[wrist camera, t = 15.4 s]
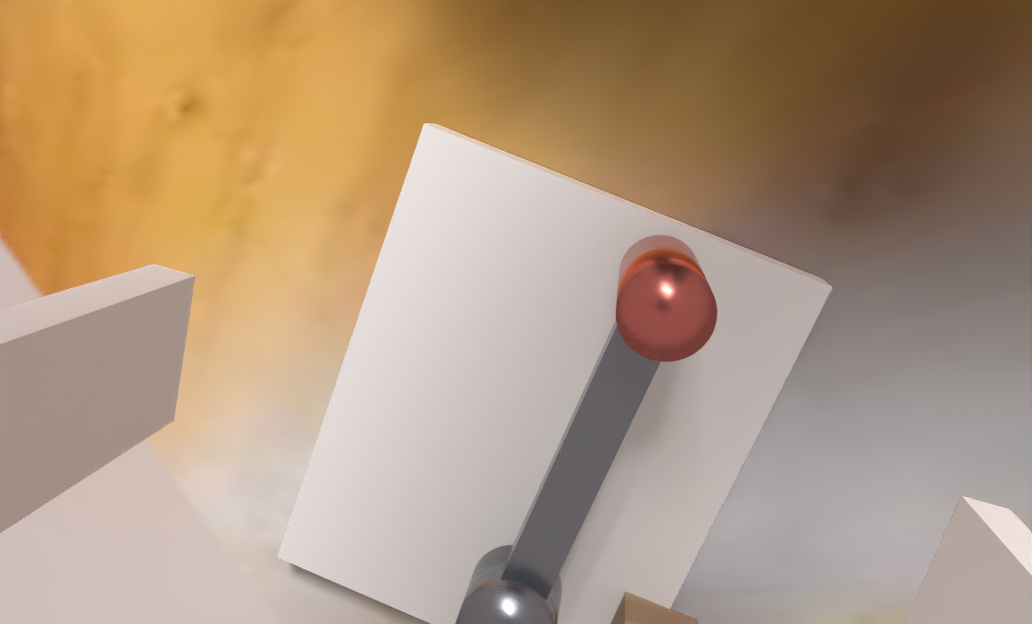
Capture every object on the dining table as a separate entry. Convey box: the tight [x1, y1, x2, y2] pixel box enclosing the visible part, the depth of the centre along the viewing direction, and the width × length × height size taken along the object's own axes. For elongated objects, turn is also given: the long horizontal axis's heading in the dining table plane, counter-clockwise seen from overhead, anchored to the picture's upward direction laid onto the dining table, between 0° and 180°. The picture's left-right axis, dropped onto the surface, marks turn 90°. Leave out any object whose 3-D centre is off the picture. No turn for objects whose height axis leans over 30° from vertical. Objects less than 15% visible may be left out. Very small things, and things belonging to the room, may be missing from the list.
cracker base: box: [277, 123, 833, 624], centre depth 36 cm, size 22×18×4 cm
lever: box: [455, 235, 717, 624], centre depth 32 cm, size 22×4×7 cm, turn 158°
